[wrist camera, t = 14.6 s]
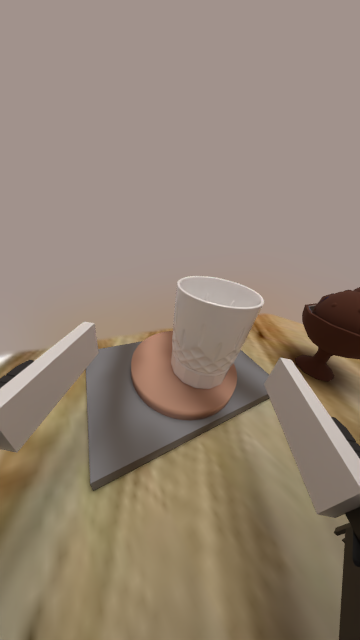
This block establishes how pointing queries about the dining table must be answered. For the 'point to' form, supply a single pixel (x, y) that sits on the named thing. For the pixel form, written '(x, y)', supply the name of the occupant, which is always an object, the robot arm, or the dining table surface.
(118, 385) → the serving stand
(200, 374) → the white cup
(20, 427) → the robot arm
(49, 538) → the dining table surface
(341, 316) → the ice cream bowl
